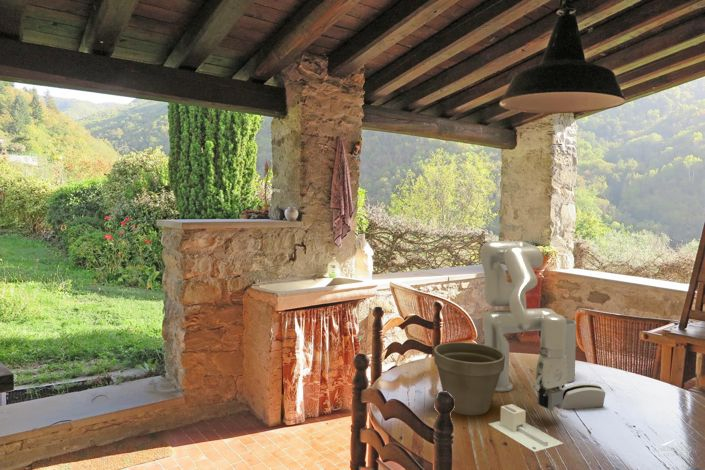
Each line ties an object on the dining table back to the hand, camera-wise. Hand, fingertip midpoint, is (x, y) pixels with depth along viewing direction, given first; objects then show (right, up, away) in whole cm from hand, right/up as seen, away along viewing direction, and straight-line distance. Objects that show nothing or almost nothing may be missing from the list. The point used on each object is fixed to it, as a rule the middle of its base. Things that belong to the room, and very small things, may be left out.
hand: (549, 403), depth 156 cm
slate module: (0, -1, 0) cm, 1 cm away
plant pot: (-24, -7, +13) cm, 28 cm away
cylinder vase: (+23, -5, +45) cm, 51 cm away
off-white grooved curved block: (+19, -7, +16) cm, 26 cm away
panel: (-11, -8, -7) cm, 15 cm away
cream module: (-13, -7, -3) cm, 15 cm away
